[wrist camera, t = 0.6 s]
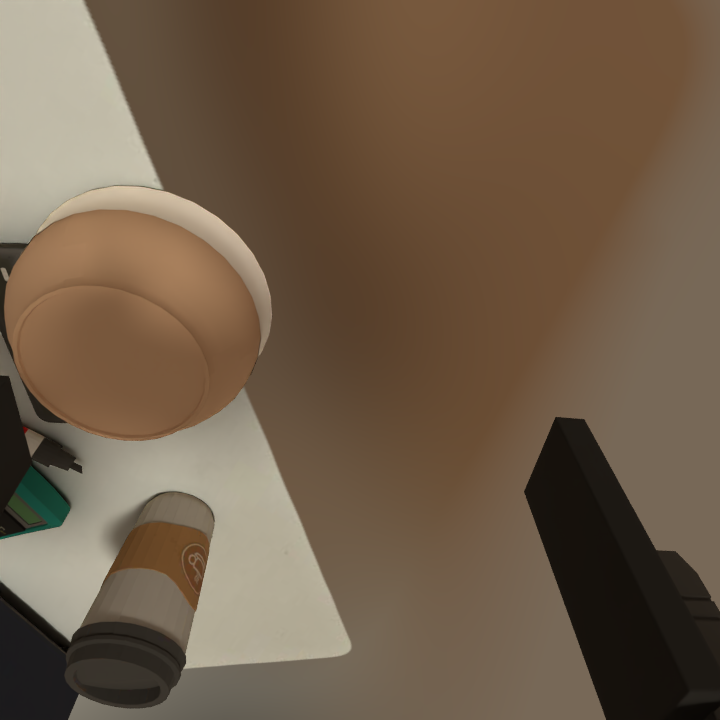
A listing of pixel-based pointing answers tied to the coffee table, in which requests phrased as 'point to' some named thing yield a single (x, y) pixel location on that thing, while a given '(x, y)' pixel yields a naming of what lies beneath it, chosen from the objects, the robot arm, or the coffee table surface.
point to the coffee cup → (144, 608)
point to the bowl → (136, 313)
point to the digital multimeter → (33, 507)
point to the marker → (49, 452)
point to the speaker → (31, 671)
